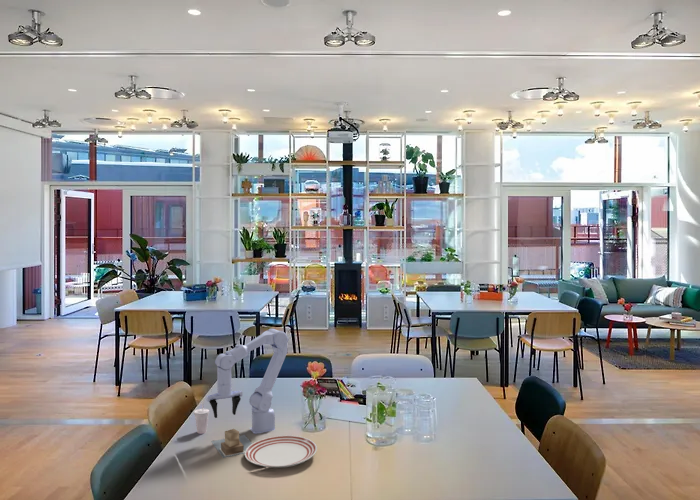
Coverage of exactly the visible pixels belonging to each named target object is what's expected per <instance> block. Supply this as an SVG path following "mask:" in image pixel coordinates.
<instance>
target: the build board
mask: <svg viewBox="0 0 700 500" xmlns="http://www.w3.org/2000/svg"><path fill="white" fill-rule="evenodd" d="M239 441H240V442H241V443H242V444H243V445H244V452H241V453H236V454H231V455H225V454H224V452H223V451H222V450H221V443H222V442H225V438H221V439H217V440H211V443H212V444H213V446H214V448H215V449H216V450H217V451H218V453H219V455H220V456H221V457H222V458H223V459H225V458H229V457H234V456H238V455H243V454H244V455H245V450H246V449H247V448H248V447H249V446H250V445H251V444H253V442H251V440H250V439H249V438H248V437H247V436H246V434H242V435H239Z"/></svg>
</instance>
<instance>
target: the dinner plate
mask: <svg viewBox="0 0 700 500" xmlns="http://www.w3.org/2000/svg"><path fill="white" fill-rule="evenodd" d="M317 451H318V446H317V444H316V443H315V442H314V441H313V440H311V439H310V438H307V437H304V436H299V435H292V434H291V435H286V434H285V435H276V436H270V437H265V438H262V439H259V440H257V441H255V442H252V444H251V445H250V446H249V447H248V448H247V449H246V450H245V454H244V458H245V459H246V460H247V462H249V463H251V464H254V465H256V466H261V467H265V468H276V469H277V468H278V469H279V468H280V469H281V468H288V467H294V466H297V465H299V464H304V463H305V462H306V461H308V460H310V459H312V458H313V457H314V456H315V454H316V453H317Z"/></svg>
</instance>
